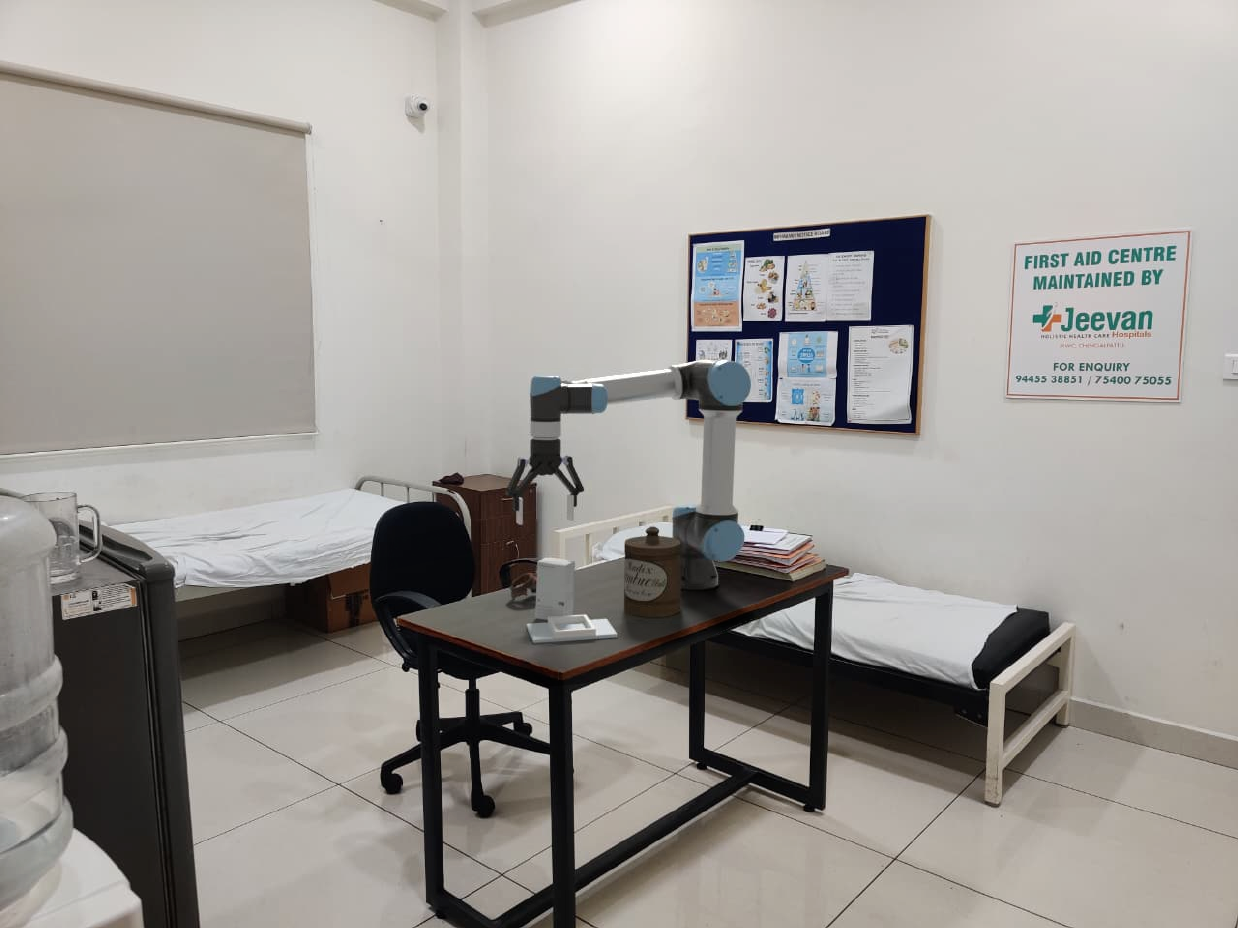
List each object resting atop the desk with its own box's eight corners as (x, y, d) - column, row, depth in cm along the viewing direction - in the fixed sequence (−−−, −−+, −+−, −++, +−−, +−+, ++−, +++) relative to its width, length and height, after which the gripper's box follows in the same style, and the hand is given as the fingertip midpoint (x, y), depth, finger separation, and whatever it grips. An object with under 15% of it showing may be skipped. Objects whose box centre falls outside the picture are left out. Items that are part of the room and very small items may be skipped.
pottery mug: (548, 606, 235) (533, 582, 233) (518, 619, 238) (502, 595, 235) (554, 583, 247) (540, 560, 244) (525, 596, 249) (510, 573, 246)
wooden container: (612, 611, 231) (613, 528, 228) (644, 597, 243) (645, 519, 240) (660, 621, 222) (662, 535, 219) (690, 607, 234) (692, 525, 231)
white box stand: (606, 621, 221) (606, 612, 221) (617, 637, 210) (617, 627, 210) (526, 626, 217) (526, 617, 217) (533, 643, 205) (533, 633, 205)
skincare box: (534, 618, 223) (534, 561, 221) (545, 612, 229) (545, 556, 227) (565, 623, 220) (565, 564, 218) (575, 616, 226) (575, 559, 224)
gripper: (585, 435, 230) (585, 515, 233) (492, 438, 219) (493, 522, 222) (597, 438, 223) (596, 520, 226) (501, 441, 213) (502, 528, 216)
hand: (545, 521), depth 224 cm, fingers open, 13 cm apart
